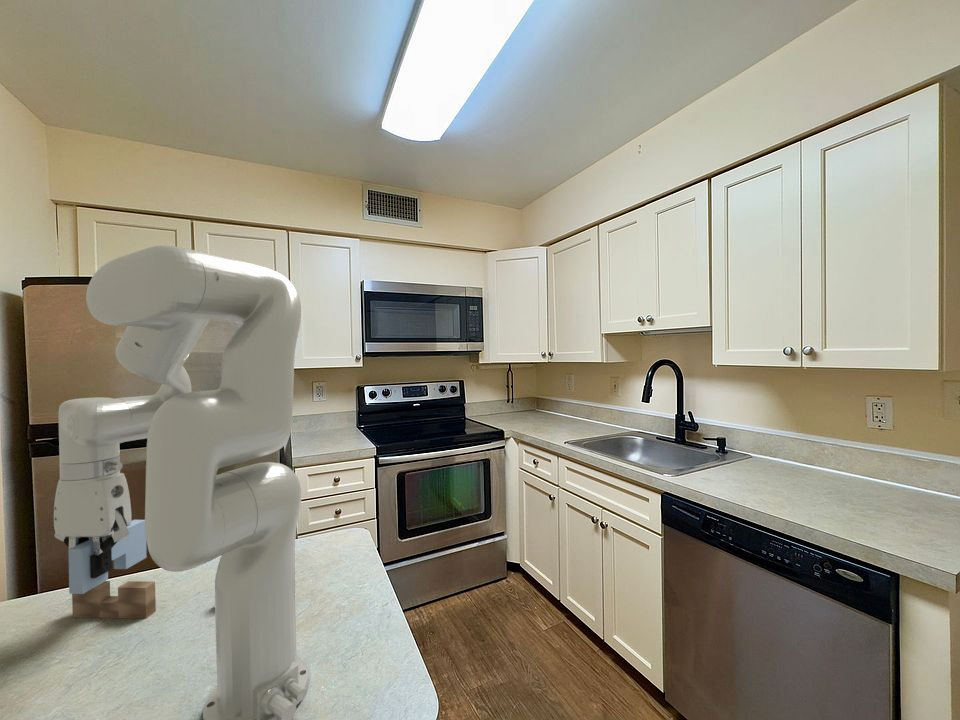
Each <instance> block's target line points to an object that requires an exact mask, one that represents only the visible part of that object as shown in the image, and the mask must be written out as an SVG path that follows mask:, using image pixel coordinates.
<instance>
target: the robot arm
mask: <svg viewBox="0 0 960 720" xmlns="http://www.w3.org/2000/svg"><path fill="white" fill-rule="evenodd" d="M85 294H86V297H85V302H86V305H87V309H88V311H89V313H90V314H91V316H92V317H93V318H94V319H96V320H97V322H100V323H102V324H105V325H109V326H117V327H118V326H123V327H126V328H125V330H124V332H123V334H122V336H121V338H120V340H119V342H118V344H117V345H116V348H115V357H116V359H117V361H118V363H119V364H120V365H121V366H123V368H125V369H126V370H127V371H128V372H130V373H133V374H135V375H137V376H138V377H141V378H143V379H147V380H150V381H153V382H156V383H159V384H161V385H160V387H159V389H158V390H157V392H156V393H155V394H151V395H139V396H127V397H117V398H112V397H104V396H103V397H97V396H96V397H84V398H82V397H81V398H73V399H68V400H65V401H63V402H62V403H61V404H60V405H59V407H58V414H57V416H58V443H59V445H58V452H59V459H58V460H59V479H58V482H57V485H56V491H55V495H54V505H53V528H54V532H55V533H54V535H53V536H54V537H55V539H57V540H59V541H61V542H63V543H64V544H65V545H66V546H67V548H68V549H70V548H72V547H75V546H77V545H79V544H81V543H83V542H86V541H88V540H90V539H92V538H93V552H94V554H93V555H91V556H90V566H91V578H97V577H99V576H101V575H102V574H104V573H106V572H108V573H109V572H110V571H111V570H112V568H113V567H112V566H113V565H112V564H113V560H112V548H113V547H115V544H116V543H117V542H118V541H119V540H121V539H123V538H125V537H127V536H129V534H130V533H129V531H128V528H127V526H129V525H130V524H131V521H132V507H131V506H132V505H131V498H130V497H131V496H130V490H129V486H128V482H127V478H126V476H125V473H124V472H121V470H122V469H123V463H122V462H121V456H120V455H121V454H120V453H121V452H120V451H121V449H120V444H122V443H125V442H127V443H128V442H131V441H136V440H137V441H138V440H145V439H146V440H147V441H146V454H145V455H146V459H145V460H146V461H145V462H146V463H145V500H144V501H145V502H144V507H145V508H144V520H145V535H146V548H147V550H148V552H149V555H150V558H151V559H152V560H153V562H154V563H155V564H156V565H157V566H158V567H159V568H161V569H163V570H164V571H168V572H173V573H177V572H178V573H179V572H184V571H185V572H186V571H189V570H192V569H195V568H197V567H199V566H202V565H204V564H207V563H209V562H210V561H213V560H215V559H217V558H219V557H220V558H219V561H218V564H217V568H216V573H215V578H214V614H215V615H214V616H215V651H216V652H215V654H216V655H215V659H216V685H215V686H214V688H212V691H211V692H210V693H209V694H208V696H207V698H206V700H205V702H204V705H203V709H202V719H203V720H292V719H293V718H294V717H295V715H296V712H297V705H299V703H300V702H302V701H304V700H305V697H306V696H307V693H308V688H309V683H310V669H309V667H308V664H307V662H306V661H305V660H304V659H303V658H301V657H299V656H297V653H298V652H297V622H296V621H297V619H296V618H297V615H296V613H297V611H296V610H297V609H296V578H295V577H296V557H295V556H296V539H297V537H296V535H297V527H298V522H299V517H300V512H301V505H302V488H301V487H302V486H301V483H300V480H299V478H298V476H297V474H296V473H295V472H294V471H293V469H291V468H290V467H289V466H287V465H285V464H283V463H280V462H273V461H266V462H258V463H253V464H250V465H246V466H242V467H239V468H235V469H232V470H228V471H225V472H222V473H220V474H217V473H218V470H219V469H220V468H225V467H228V466H232V465H235V464H239V463H243V462H246V461H251V460H254V459H257V458H261V457H264V456H268V455H271V454H273V453H275V452H277V451H279V450H280V449H282V448H284V446H285V445H286V444H287V443H288V441H289V438H290V437H291V433H292V426H293V412H294V411H293V407H294V380H295V376H294V375H295V353H296V347H297V343H298V342H297V340H298V336H299V331H300V328H301V327H300V326H301V320H302V306H301V299H300V296H299V295H300V294H299V293H298V290H297V289H296V287H295V285H294V284H293V283H292V282H291V281H290V280H289V279H288V278H287V277H286V276H284V275H283V274H281V273H280V272H278V271H276V270H274V269H271V268H270V267H266V266H263V265H260V264H256V263H253V262H248V261H244V260H241V259H237V258H231V257H227V256H222V255H221V256H220V255H217V254H212V253H208V252H205V251H204V252H203V251H200V250H195V249H191V248H185V247H180V246H174V245H166V244H163V245H153V246H149V247H146V248H144V249H140V250H137V251H134V252H131V253H128V254H125V255H122V256H118V257H116V258H114V259H111V260H110V261H107V262H106V263H105V264H103V265H102V266H100V268H98V269H97V270H96V272H95V273H94V274H93V275H92V277H91V279H90V281H89V283H88V286H87V289H86V293H85ZM210 320H212V321H228V322H229V321H230V322H238V323H242V324H241V325H240V327H238V329H236V330H235V332H234V333H233V335H232V336H231V337H230V339H229V340H228V342H227V344H226V345H225V347H224V350H223V352H222V359H221V378H220V379H221V380H220V385H219V387H218V388H216V389H210V390H208V389H207V390H198V391H192V383H191V378H190V376H189V374H188V371H187V370H186V368H185V367H184V364H185V363H186V361H187V359H188V357H189V355H190V354H191V352H192V350H193V349H194V347H195V345H196V344H197V342H198V341H199V339H200V337H201V336H202V334H203V332H204V330H205V329H206V327H207V326H208V324H209V322H210ZM105 537H106V540H105V541H104V542H102V539H103V538H105Z"/></svg>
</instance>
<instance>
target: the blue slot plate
mask: <svg viewBox="0 0 960 720" xmlns="http://www.w3.org/2000/svg"><path fill="white" fill-rule="evenodd" d="M127 528H128V531H129V533H130V534H129V536H127V537H125V538H123V539H121V540H119V541H118V542H117V543H116V544H115V547H113V548H112V561H113V570H127V569H129V568H131V567H133V566H134V565H136V564H138V563H140V562H141V561H143V560H145V559H147V542H146V535H145V519H131V524H130V525H129V526H127ZM105 540H106V537H105V538H103V539H102V542H104V541H105ZM67 551H68V588H69V589H68V594H69V595H72V594H84V593H85V592H87V591H89V590H91V589H92V588H94V587H96V586H98V585H99V584H101V583H103V582H105V581H109V571H108V572H106V573H104V574H102V575H101V576H99V577H97V578H91V566H90V556H91V555H93V554H94V552H93V537H92V539H90V540H88V541H86V542H83V543H81V544H79V545H77V546H75V547H72V548H70V549H69V548H68V550H67Z"/></svg>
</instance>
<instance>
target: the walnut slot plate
mask: <svg viewBox="0 0 960 720" xmlns="http://www.w3.org/2000/svg"><path fill="white" fill-rule="evenodd" d="M156 601H157V600H156V581H147V580H146V581H142V580H141V581H137V580H136V581H135V580H134V581H132V580H131V581H129V580H128V581H126V582H125V583H123V584H122V585H120V586H118V587H117V595H111V581H110V580H106V581H105V582H103V583H101V584H99V585H98V586H96V587H94V588H92V589H91V590H89V591H87V592H85V593H84V594H71V605H72V617H73V618H99V619H102V618H103V619H104V618H106V619H107V618H108V619H111V618H112V619H118V618H119V619H147V618H149V617H151V616H152V615H153V614H154V613H155V612H157V611H156V610H157V608H156V607H157V603H156Z"/></svg>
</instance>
